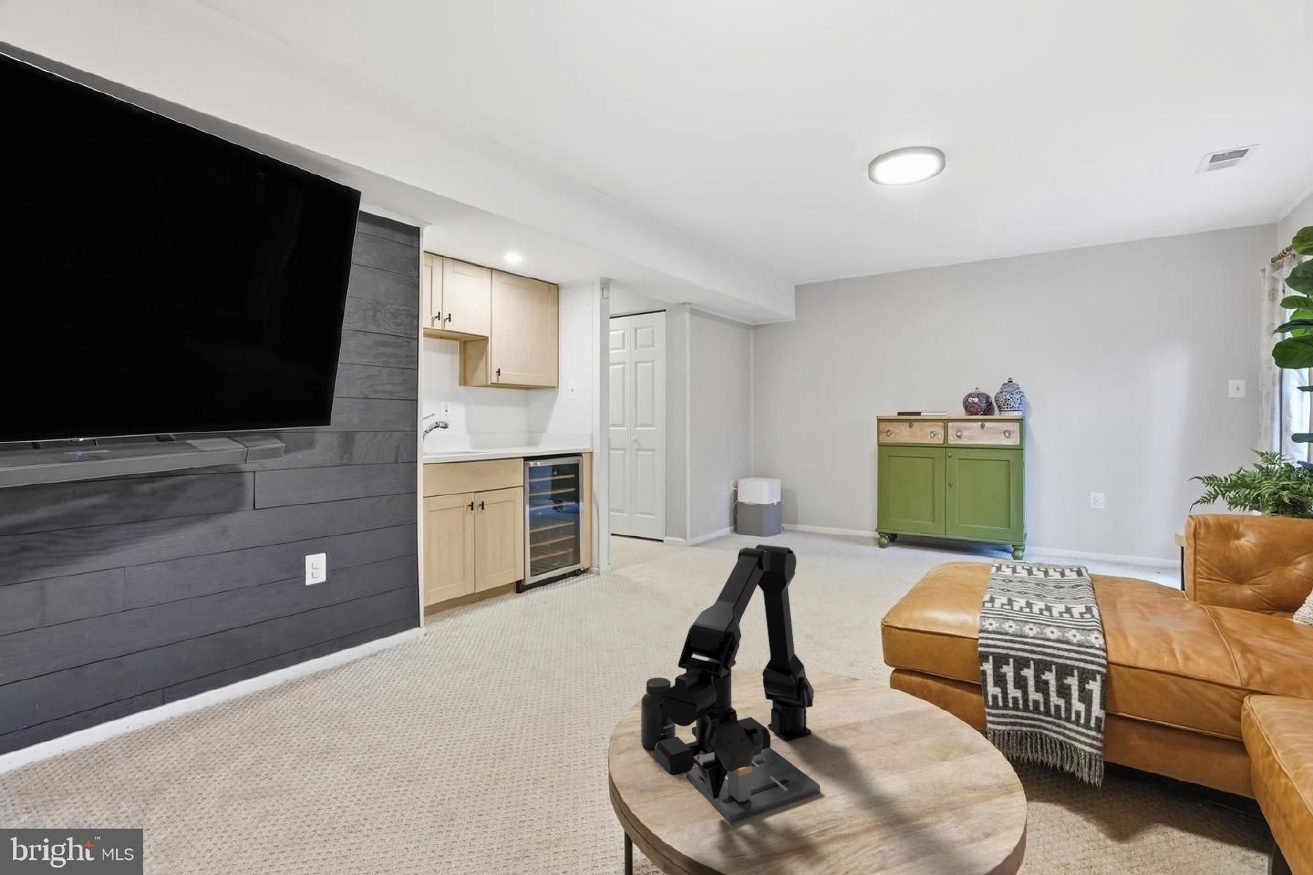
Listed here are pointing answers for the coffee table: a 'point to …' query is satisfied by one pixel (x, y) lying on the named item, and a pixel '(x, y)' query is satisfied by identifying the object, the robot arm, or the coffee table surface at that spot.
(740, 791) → the fader
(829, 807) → the coffee table surface
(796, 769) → the board
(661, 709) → the supplement bottle
